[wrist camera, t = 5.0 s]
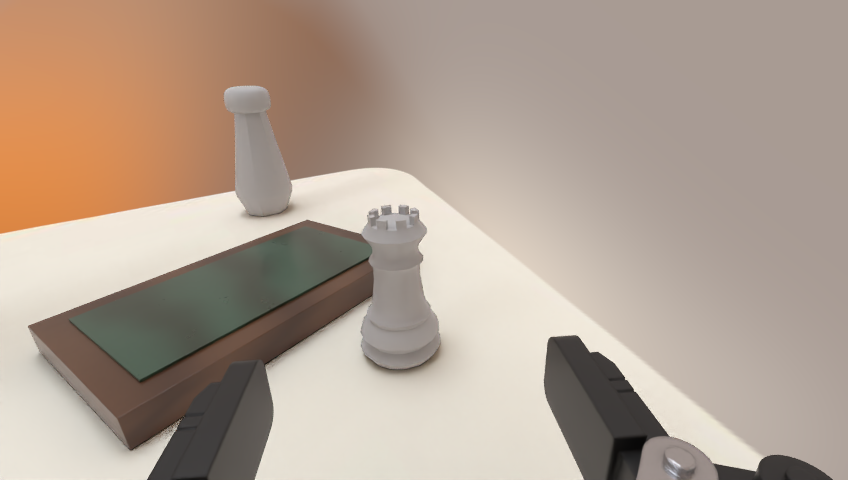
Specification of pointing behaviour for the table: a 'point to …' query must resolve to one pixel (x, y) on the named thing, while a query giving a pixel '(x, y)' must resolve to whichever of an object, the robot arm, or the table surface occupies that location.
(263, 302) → the desk board
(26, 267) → the table surface
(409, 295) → the rook chess piece
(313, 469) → the table surface
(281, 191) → the salt shaker
